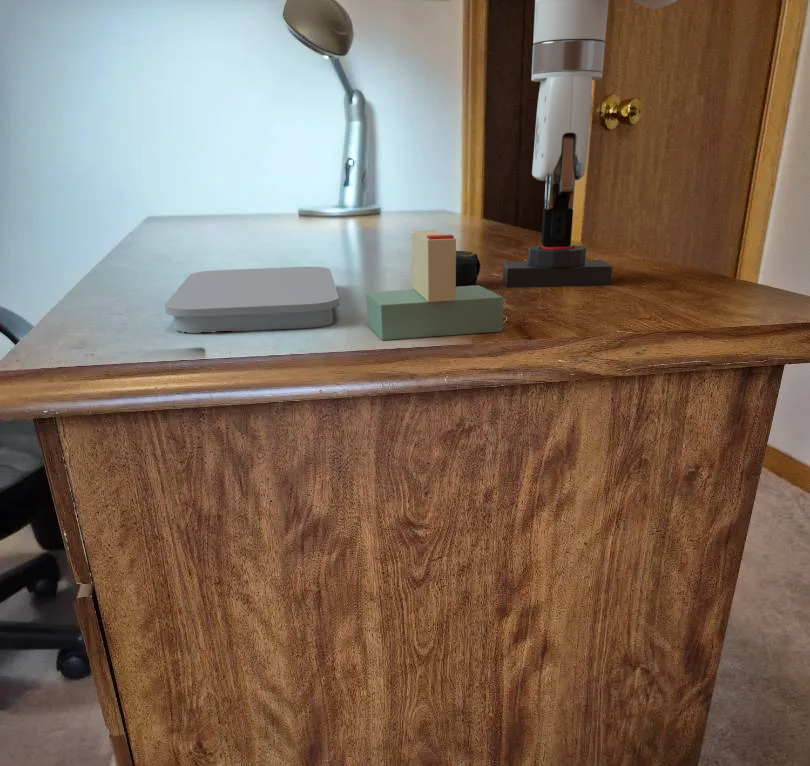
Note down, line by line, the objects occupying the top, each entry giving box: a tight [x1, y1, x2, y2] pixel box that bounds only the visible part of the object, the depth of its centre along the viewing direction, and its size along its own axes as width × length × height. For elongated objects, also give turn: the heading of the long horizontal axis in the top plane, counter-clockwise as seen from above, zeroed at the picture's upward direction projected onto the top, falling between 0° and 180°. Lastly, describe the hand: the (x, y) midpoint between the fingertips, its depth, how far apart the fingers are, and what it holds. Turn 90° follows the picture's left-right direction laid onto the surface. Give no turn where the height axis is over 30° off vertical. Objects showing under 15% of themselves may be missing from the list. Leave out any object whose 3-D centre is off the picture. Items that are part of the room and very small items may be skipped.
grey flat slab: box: [164, 266, 340, 334], centre depth 84 cm, size 16×26×2 cm, turn 7°
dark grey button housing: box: [502, 244, 613, 288], centre depth 93 cm, size 12×6×4 cm, turn 88°
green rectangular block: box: [365, 284, 504, 341], centre depth 72 cm, size 11×7×3 cm, turn 103°
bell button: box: [542, 244, 573, 250], centre depth 93 cm, size 4×4×2 cm
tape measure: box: [456, 250, 481, 286], centre depth 93 cm, size 7×7×4 cm
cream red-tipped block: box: [410, 229, 457, 302], centre depth 70 cm, size 8×2×5 cm, turn 10°
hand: (555, 245), depth 93 cm, fingers closed
